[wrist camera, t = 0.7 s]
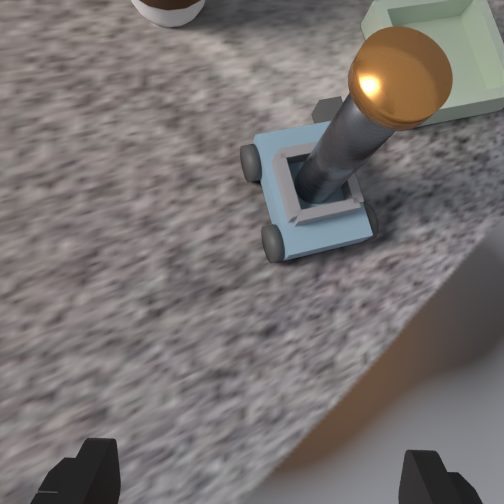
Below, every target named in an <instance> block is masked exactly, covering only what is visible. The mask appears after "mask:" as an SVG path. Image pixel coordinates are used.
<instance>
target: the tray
mask: <svg viewBox="0 0 504 504" xmlns="http://www.w3.org/2000/svg"><path fill="white" fill-rule="evenodd" d="M394 26H401V27H408V28H412V29H415V30H418V31H420V32H422V33H424V34H426V35H427V36H429V37H430V38H431V39H433V40H434V41H435V42H436V43H437V44H438V45H439V46H440V47H441V49H442V50H443V51H444V53H445V54H446V56H447V58H448V60H449V62H450V65H451V69H452V74H453V84H452V89H451V93H450V95H449V98H448V99H447V101H446V102H445V103H444V105H443V106H442V107H441V108H440V109H439V110H438V111H436V112H435V113H434V114H433V115H432V116H431V117H430V118H429V119H428V120H427V121H425V122H424V123H423V124H421V125H419V126H424V125H429V124H435V123H440V122H445V121H450V120H455V119H460V118H465V117H470V116H475V115H481V114H486V113H491V112H496V111H500V110H501V109H503V108H504V43H503V40H502V38H501V35H500V33H499V30H498V28H497V25H496V22H495V20H494V17H493V15H492V12H491V9H490V7H489V4H488V2H487V0H376V1H373V2H372V4H371V6H370V8H369V10H368V12H367V13H366V15H365V17H364V19H363V21H362V23H361V28H362V31H363V34H364V37H365V40H366V39H367V38H368V37H369V36H371V35H372V34H373V33H375V32H377V31H378V30H381V29H383V28H387V27H394ZM419 126H417V127H419ZM396 131H399V130H396Z"/></svg>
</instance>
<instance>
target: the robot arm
mask: <svg viewBox="0 0 504 504" xmlns="http://www.w3.org/2000/svg"><path fill="white" fill-rule="evenodd" d="M120 488H121V479H120V469H119V460H118V450H117V442H116V440H115V439H108V438H87V439H86V440H85V441H84V443H83V445H82V447H81V449H80V451H79V453H78V454H77V456H76V458H64V459H63V460H61V461H60V462H59V463H58V464H57V465H56V466H55V467H54V468H53V469H52V470H51V471H49V472H48V474H47V476H46V477H45V479H44V481H43V483H42V484H41V486H40V488H39V490H38V493H37V494H36V495H35V496H34V498H33V500H32V502H31V503H30V504H118V500H119V495H120ZM399 504H483V503H482V501H481V499H480V498H479V496H478V494H477V492H476V490H475V489H474V488H473V487H472V486H471V485H470V484H469V483H468V482H467V481H466V480H465V479H464V478H463V477H462V476H461V475H460V474H459V473H457V472H447V470H446V468H445V466H444V464H443V462H442V460H441V458H440V456H439V454H438V453H437V452H436V451H429V450H407V451H406V453H405V457H404V463H403V469H402V475H401V481H400V487H399Z"/></svg>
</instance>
